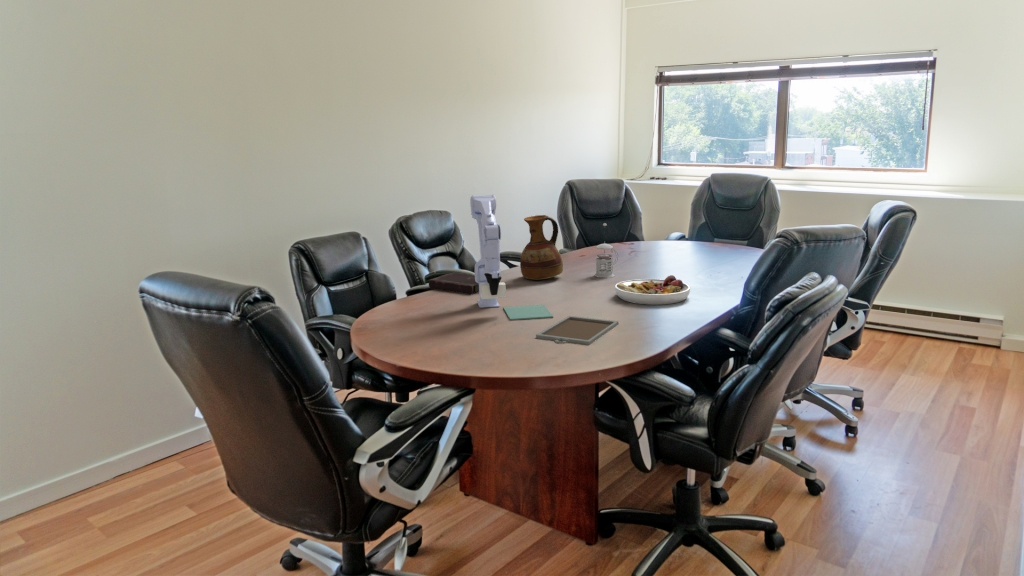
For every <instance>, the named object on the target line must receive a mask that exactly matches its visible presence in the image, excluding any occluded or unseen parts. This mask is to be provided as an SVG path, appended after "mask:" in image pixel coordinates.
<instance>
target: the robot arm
mask: <svg viewBox="0 0 1024 576" xmlns="http://www.w3.org/2000/svg"><path fill="white" fill-rule="evenodd" d="M469 199H470V203H469V204H470V205H469V206H470V212H471V214H470V215H471V218H472V219H474V220H476V222H477V223H476V224H477V225H478V226H477V227H478V239H479V252H480V259H479V260H478V261H477V262H476V263H475V264H474V276H475V281H476V282H477V283H479V292H478V296H479V297H478V298H479V299H478V301H477V302H476V303H477V305H478V308H481V309H482V308H495V307H496V308H497V307H498V308H499V307H500V303H499V302H498V298H494V299H482V298H481V290H480V284H481V283H489V287H490V292H491V295H497V292H498V286H499V283H500V282H501V280H502V279H503V278H502V275H501V271H502V269H501V254H500V253H501V252H500V251H501V249H500V246H501V245H500V241H501V239H502V230H501V225H500V224H499V223H498V221H497V218H496V216H495V215H496V209H497V197H496V195H494V194H492V195H491V194H490V195H489V194H488V195H487V194H486V195H484V194H483V195H471V196H470V198H469Z"/></svg>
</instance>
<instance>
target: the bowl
mask: <svg viewBox="0 0 1024 576" xmlns="http://www.w3.org/2000/svg"><path fill="white" fill-rule="evenodd" d="M614 291H615V295H617V297H619V299H621V300H623V301H625V302H629V303H632V304H639V305H647V306H650V305H651V306H653V305H654V306H656V305H659V306H660V305H662V306H663V305H671V304H676V303H680V302H682V301H684V300H685V299H687V297H688V296H689V294H690V292H691V287H690V285H688V284H687V283H685V282H683V281H682V279H677V277H675V276H674V275H667V277H665V279H660V278H659V279H658V278H639V279H628V280H623V281H620V282H617V283H616V284H615V286H614Z"/></svg>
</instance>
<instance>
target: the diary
mask: <svg viewBox="0 0 1024 576" xmlns="http://www.w3.org/2000/svg"><path fill="white" fill-rule="evenodd" d="M428 287H429V289H432V290H438V291H445V292H452V293H458V294H466V295H472V296H473V295H474V294H477V293H478V294H479V283H477V282H476V281H475V274H474V275H473V274H470V273H469V274H468V273H465V272H457V271H454V272H450V273H446V274H443V275H440V276H438V277H433V278H430V279H429V280H428Z"/></svg>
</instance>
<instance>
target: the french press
mask: <svg viewBox="0 0 1024 576" xmlns="http://www.w3.org/2000/svg"><path fill="white" fill-rule="evenodd" d="M602 226H603V227H606V226H608V225H607V223H605V222H604V223H603V224H602ZM613 248H614V246H612V245H611V244H609V243H606V242H603V243H600V244H598V245H597V246H595V249H597V250H604V253H601V254H596V257H597V258H596V259H595V261H596V263H595V264H596V268H595V269H596V270H595V271H596V272H595V274H594V275H593V276H594V277H597V278H604V279H605V278H613V277H615V276H616V275H615V274H614V270H613V269H614V265H615V263H614V262H617V261H618V260H619V257H618V256H619V254H618V252H617V250H616V249H613ZM606 250H610V252H611V253H613V252H614V253H615V260H614V258H612V257H613V255H612V254H609V253H608V254H607V253H606Z"/></svg>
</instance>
